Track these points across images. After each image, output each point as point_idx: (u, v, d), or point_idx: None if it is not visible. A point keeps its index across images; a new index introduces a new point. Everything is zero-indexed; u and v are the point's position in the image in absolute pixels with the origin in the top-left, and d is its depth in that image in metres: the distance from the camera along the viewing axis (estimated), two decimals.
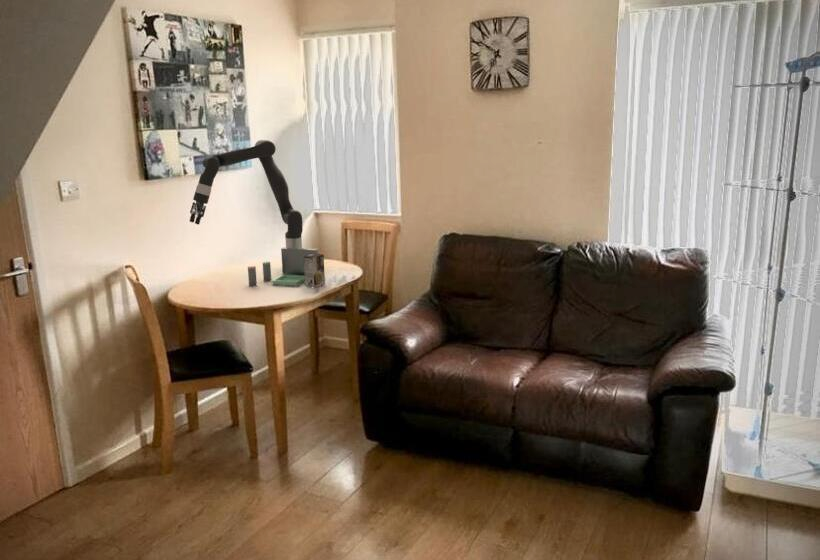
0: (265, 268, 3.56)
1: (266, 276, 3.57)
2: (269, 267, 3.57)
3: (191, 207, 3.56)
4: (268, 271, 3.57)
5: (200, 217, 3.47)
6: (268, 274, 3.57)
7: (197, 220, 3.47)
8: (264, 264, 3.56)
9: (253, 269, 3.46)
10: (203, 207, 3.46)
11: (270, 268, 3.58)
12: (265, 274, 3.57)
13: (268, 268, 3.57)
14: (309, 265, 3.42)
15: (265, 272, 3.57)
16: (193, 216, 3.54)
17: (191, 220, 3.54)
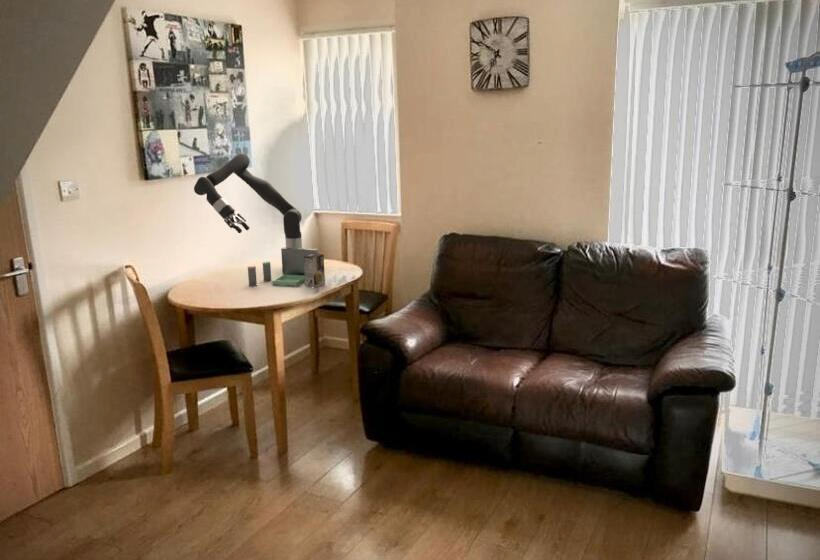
0: (265, 268, 3.56)
1: (266, 276, 3.57)
2: (269, 267, 3.57)
3: (230, 221, 3.49)
4: (268, 271, 3.57)
5: None
6: (268, 274, 3.57)
7: (247, 225, 3.61)
8: (264, 264, 3.56)
9: (253, 269, 3.46)
10: None
11: (270, 268, 3.58)
12: (265, 274, 3.57)
13: (268, 268, 3.57)
14: (309, 265, 3.42)
15: (265, 272, 3.57)
16: None
17: None
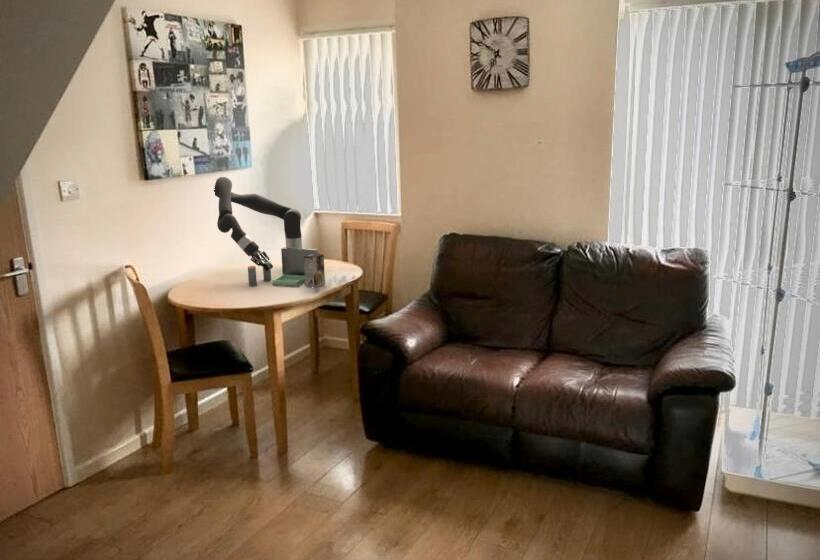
0: None
1: (266, 276, 3.57)
2: (269, 267, 3.57)
3: (257, 260, 3.52)
4: (268, 271, 3.57)
5: None
6: (268, 274, 3.57)
7: (271, 264, 3.60)
8: None
9: (253, 269, 3.46)
10: None
11: (270, 268, 3.58)
12: (265, 274, 3.57)
13: None
14: (308, 265, 3.42)
15: (265, 272, 3.57)
16: None
17: None
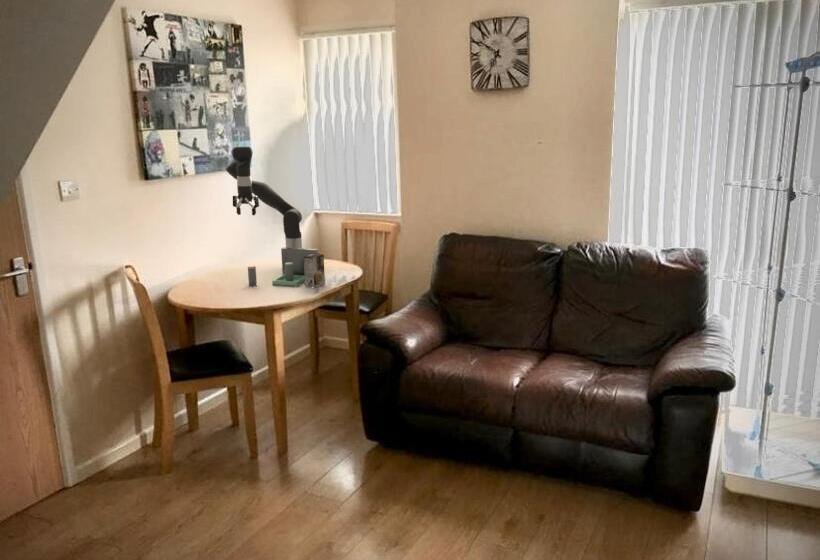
0: (288, 269, 3.51)
1: (289, 277, 3.52)
2: (292, 268, 3.52)
3: (258, 201, 3.58)
4: (291, 272, 3.52)
5: (236, 207, 3.60)
6: (291, 275, 3.52)
7: None
8: (287, 265, 3.50)
9: (253, 269, 3.46)
10: None
11: None
12: (288, 275, 3.52)
13: (291, 269, 3.51)
14: (309, 265, 3.42)
15: (288, 273, 3.51)
16: None
17: None
